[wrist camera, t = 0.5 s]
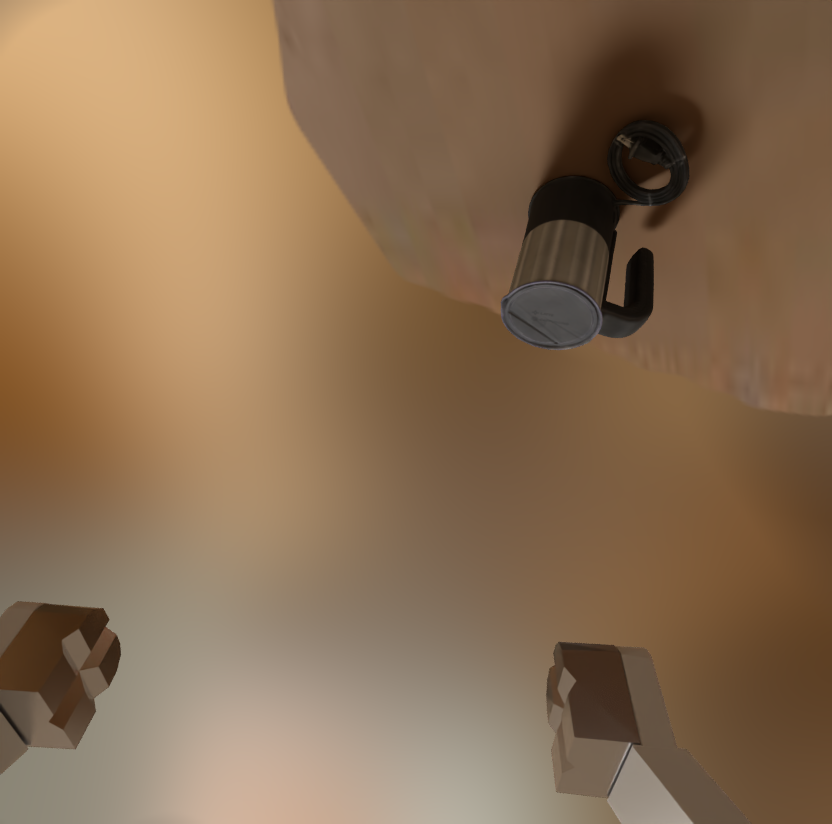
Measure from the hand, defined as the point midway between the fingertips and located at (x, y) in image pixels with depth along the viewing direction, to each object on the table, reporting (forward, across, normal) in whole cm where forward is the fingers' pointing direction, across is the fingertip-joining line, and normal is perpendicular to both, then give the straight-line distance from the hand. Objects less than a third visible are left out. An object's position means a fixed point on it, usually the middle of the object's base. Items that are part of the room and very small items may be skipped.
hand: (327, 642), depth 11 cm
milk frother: (+55, -16, +5) cm, 58 cm away
